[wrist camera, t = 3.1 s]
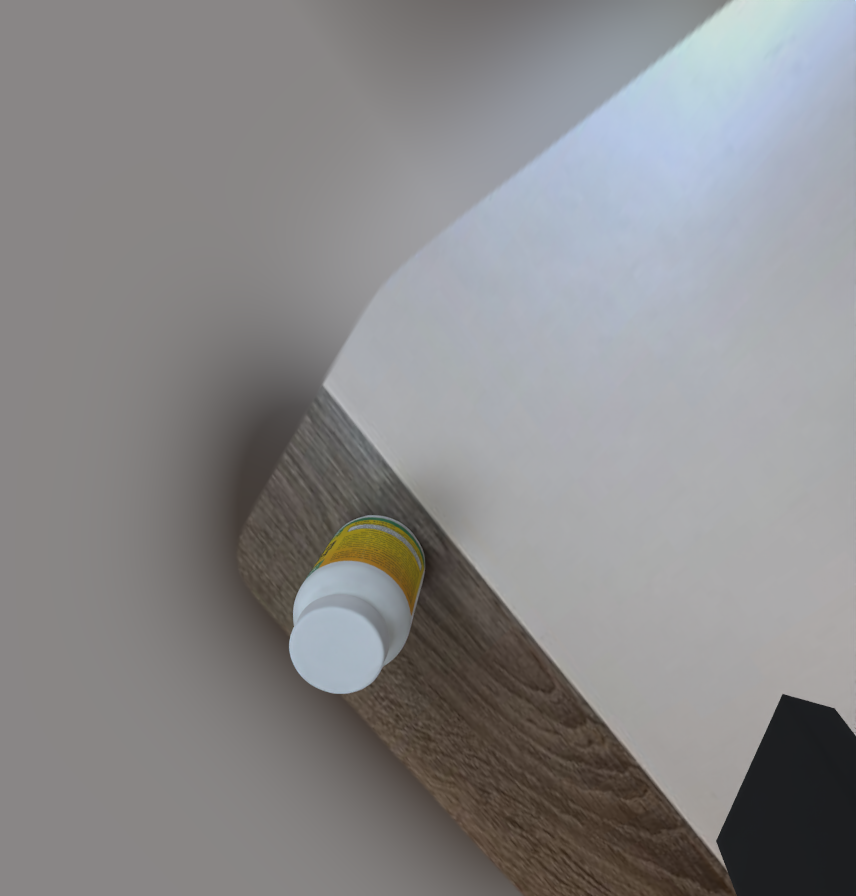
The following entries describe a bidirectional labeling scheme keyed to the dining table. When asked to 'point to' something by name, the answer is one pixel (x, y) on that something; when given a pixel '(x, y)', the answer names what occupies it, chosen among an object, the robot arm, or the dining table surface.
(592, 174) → the dining table surface
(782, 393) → the dining table surface
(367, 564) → the supplement bottle
